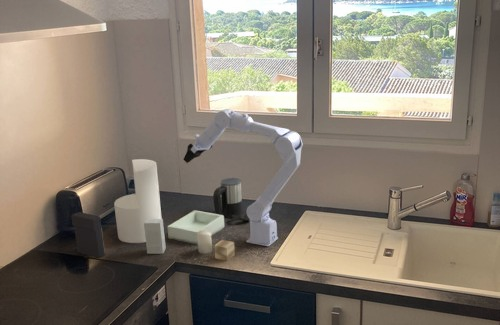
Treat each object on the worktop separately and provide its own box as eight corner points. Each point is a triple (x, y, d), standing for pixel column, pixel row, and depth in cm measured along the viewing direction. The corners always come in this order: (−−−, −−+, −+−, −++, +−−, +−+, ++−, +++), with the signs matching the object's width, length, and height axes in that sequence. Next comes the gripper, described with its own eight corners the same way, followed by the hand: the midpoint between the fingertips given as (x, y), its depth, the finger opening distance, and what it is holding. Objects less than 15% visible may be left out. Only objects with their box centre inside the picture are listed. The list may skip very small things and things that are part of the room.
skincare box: (166, 248, 197) (163, 218, 194) (163, 254, 193) (160, 223, 190) (149, 248, 198) (146, 218, 195) (146, 254, 194) (143, 223, 191)
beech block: (234, 255, 190) (234, 242, 189) (227, 261, 186) (226, 247, 185) (222, 252, 193) (222, 239, 191) (215, 258, 189) (214, 245, 187)
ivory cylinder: (214, 249, 196) (213, 231, 194) (207, 254, 191) (205, 236, 189) (203, 246, 198) (202, 229, 196) (195, 252, 194) (194, 234, 192)
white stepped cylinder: (160, 222, 222) (154, 157, 214) (165, 239, 206) (158, 169, 198) (117, 228, 218) (109, 162, 210) (118, 245, 202) (110, 174, 194)
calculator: (106, 254, 195) (101, 215, 191) (97, 258, 192) (92, 219, 188) (85, 248, 201) (79, 210, 197) (76, 253, 197) (70, 214, 193)
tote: (224, 227, 214) (223, 215, 213) (198, 244, 200) (197, 232, 198) (195, 221, 221) (194, 210, 220) (168, 238, 206) (167, 226, 205)
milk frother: (228, 209, 234) (226, 176, 229) (261, 213, 227) (259, 180, 223) (211, 221, 221) (209, 186, 217) (246, 226, 215) (244, 191, 210)
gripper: (211, 121, 204) (191, 144, 211) (194, 132, 192) (173, 156, 198) (224, 134, 204) (204, 157, 211) (207, 146, 191) (187, 169, 198)
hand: (190, 157), depth 204 cm, fingers open, 7 cm apart
